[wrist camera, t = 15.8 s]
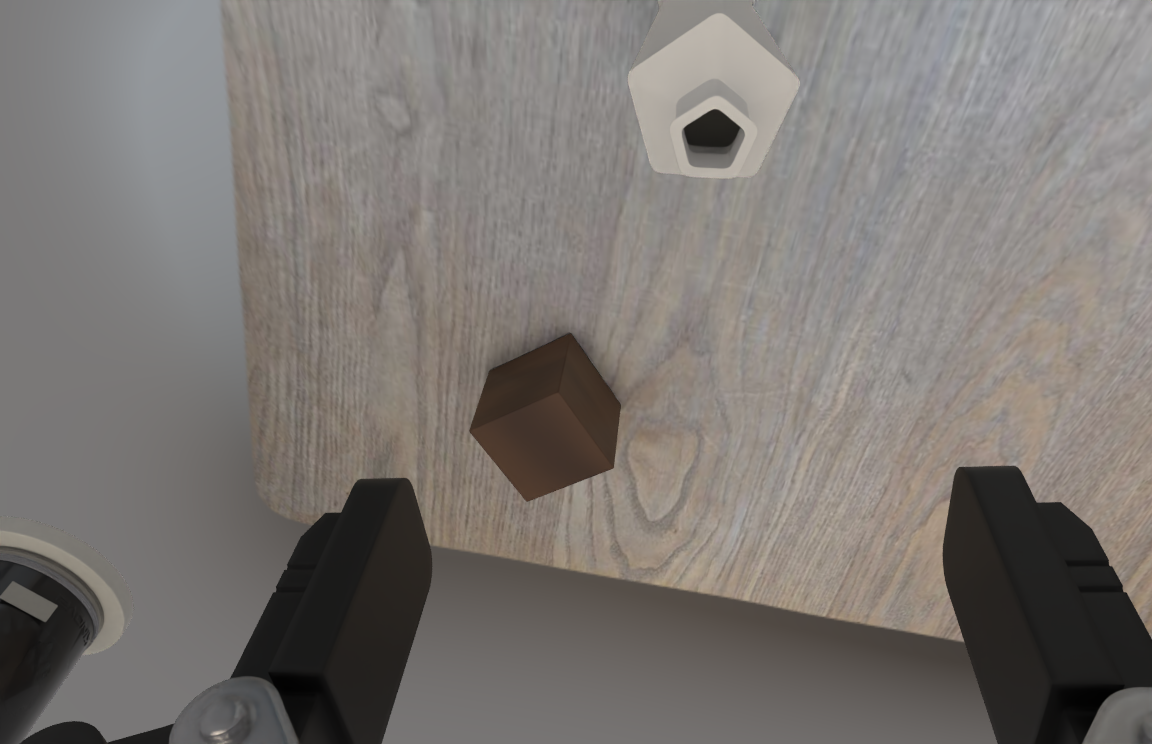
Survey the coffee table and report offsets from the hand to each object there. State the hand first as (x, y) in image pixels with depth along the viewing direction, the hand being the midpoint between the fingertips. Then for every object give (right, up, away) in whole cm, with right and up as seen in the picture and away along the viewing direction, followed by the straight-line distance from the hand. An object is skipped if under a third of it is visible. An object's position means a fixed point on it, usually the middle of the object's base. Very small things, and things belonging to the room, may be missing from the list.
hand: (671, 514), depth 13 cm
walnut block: (-2, +1, +32) cm, 32 cm away
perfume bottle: (+4, +17, +21) cm, 27 cm away
